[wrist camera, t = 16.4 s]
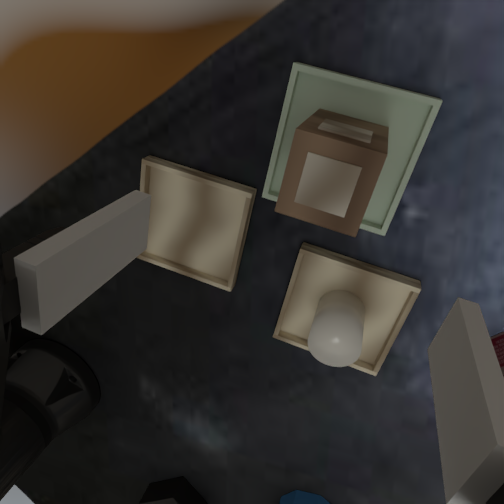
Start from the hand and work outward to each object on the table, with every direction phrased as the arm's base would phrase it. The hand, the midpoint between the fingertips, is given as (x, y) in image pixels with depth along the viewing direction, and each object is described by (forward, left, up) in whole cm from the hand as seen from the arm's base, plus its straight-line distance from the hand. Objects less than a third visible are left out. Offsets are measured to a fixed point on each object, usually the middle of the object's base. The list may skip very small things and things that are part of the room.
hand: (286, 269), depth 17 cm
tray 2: (0, 0, -22) cm, 23 cm away
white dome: (+5, -16, -22) cm, 28 cm away
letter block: (0, 0, -22) cm, 22 cm away
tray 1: (-13, -12, -22) cm, 29 cm away
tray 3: (+5, -16, -22) cm, 28 cm away
